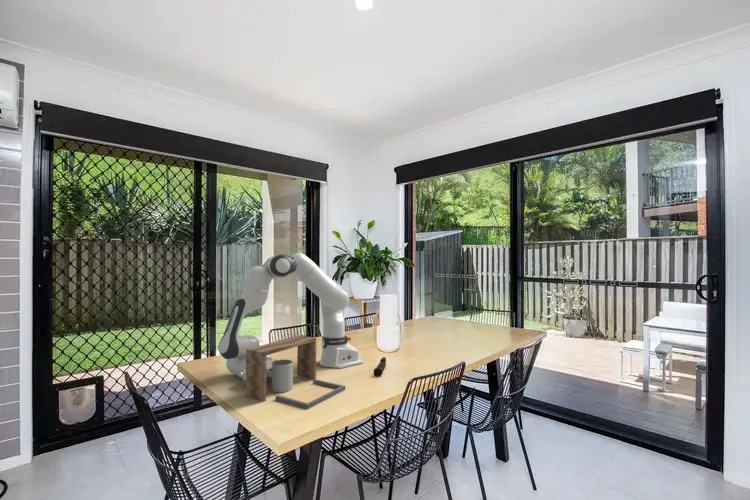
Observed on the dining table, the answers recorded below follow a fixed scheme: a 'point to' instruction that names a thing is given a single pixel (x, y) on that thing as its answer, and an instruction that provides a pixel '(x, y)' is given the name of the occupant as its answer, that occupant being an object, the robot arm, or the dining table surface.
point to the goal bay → (308, 405)
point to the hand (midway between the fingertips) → (277, 374)
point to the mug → (282, 375)
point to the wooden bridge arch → (258, 355)
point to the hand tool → (380, 367)
